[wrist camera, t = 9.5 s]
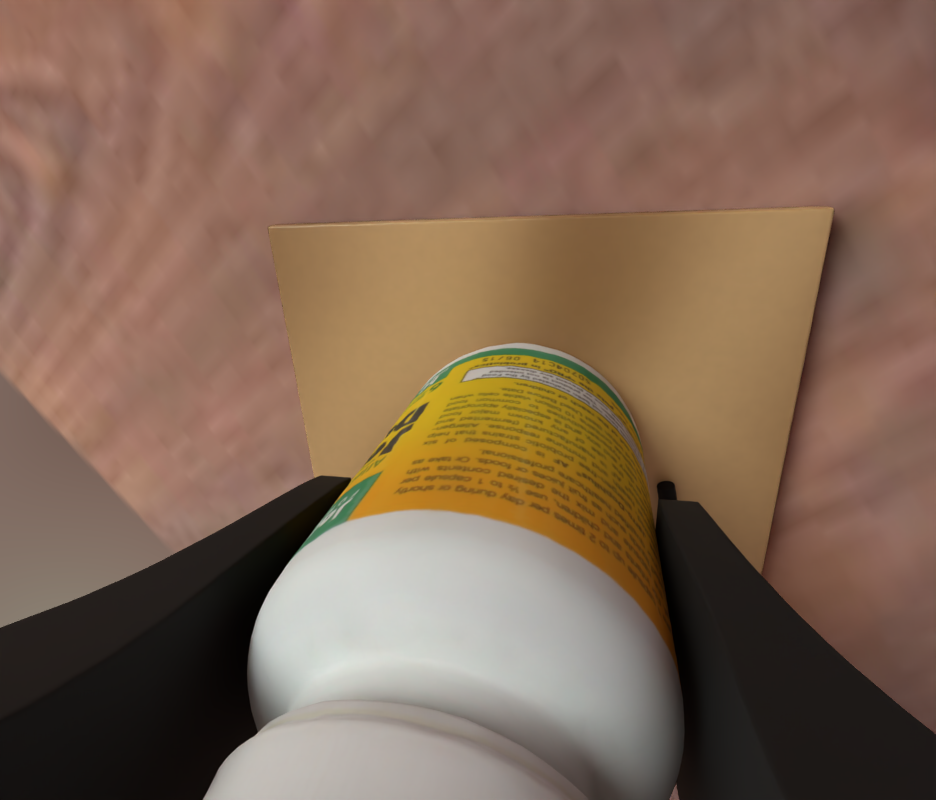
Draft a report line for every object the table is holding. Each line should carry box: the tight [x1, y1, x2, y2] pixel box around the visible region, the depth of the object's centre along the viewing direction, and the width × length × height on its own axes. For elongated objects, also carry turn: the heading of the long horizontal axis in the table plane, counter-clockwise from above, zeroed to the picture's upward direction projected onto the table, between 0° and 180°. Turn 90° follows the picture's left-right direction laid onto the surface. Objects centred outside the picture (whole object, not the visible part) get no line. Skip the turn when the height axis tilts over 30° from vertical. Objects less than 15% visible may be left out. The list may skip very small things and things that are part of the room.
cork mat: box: [268, 206, 834, 575], centre depth 13 cm, size 11×10×1 cm
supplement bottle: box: [203, 343, 685, 800], centre depth 9 cm, size 5×5×10 cm
